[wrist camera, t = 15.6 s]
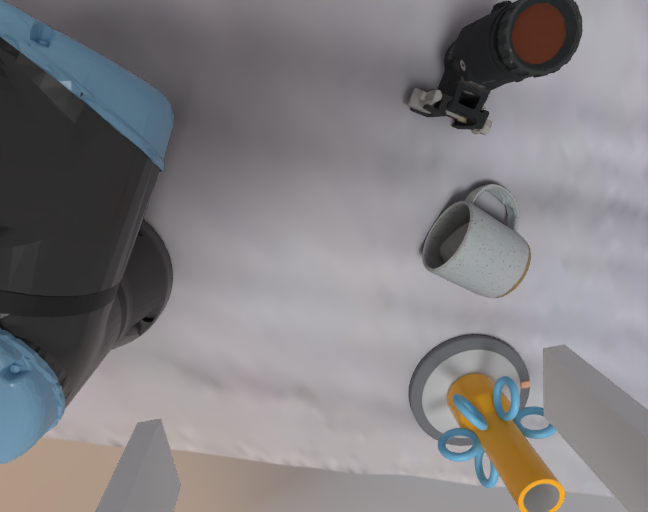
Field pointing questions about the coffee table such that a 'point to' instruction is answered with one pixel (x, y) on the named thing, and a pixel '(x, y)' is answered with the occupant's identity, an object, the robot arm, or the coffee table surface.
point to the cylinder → (502, 441)
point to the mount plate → (453, 364)
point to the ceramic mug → (478, 246)
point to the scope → (501, 57)
